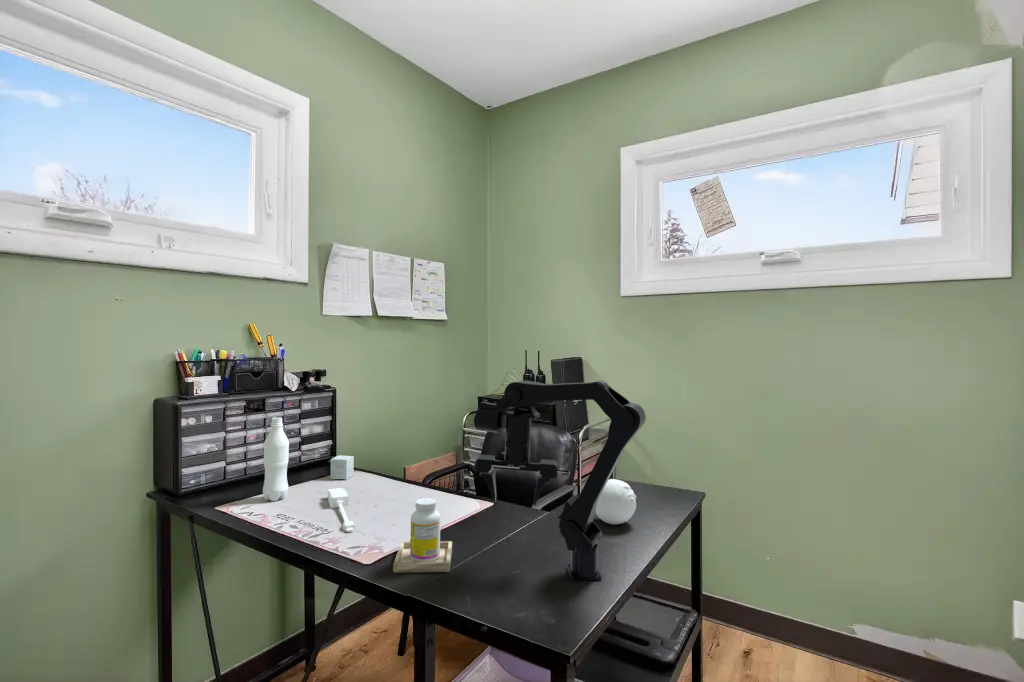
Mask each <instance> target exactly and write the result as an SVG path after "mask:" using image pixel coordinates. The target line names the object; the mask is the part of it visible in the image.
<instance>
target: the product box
mask: <svg viewBox="0 0 1024 682" xmlns="http://www.w3.org/2000/svg"><path fill="white" fill-rule="evenodd" d="M354 459H355V456H353V455H340V454H338V455H337V456H335V457H332V458H331V459H330V479H331V478H332V479H331V480H333V479H347V478H349V477H350V478H352V477H353V476H355V475H354V474H355V472H354V468H355V467H354V465H355V464H354V462H355V460H354ZM352 475H353V476H352ZM351 476H352V477H351ZM350 478H349V479H350ZM347 480H348V479H347Z"/></svg>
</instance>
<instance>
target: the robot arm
mask: <svg viewBox="0 0 1024 682" xmlns="http://www.w3.org/2000/svg"><path fill="white" fill-rule="evenodd" d="M587 400H589V401H592V400H593V401H594V402H595V403H596V404H597V405H598V407H599V408H600V409H601V410H602V412H603V413H604V414H605V415H606V416H607V417H608V418H609V419H610V424H609V427H608V432H607V439H606V442H605V444H604V446H603V448H602V450H601V452H600V454H599V456H598V457H597V460H596V462H595V463H594V466H593V467H592V470H591V472H590V473H589V475H588V477H587V479H586V482H585V483H584V486H583V488H582V489H581V492H580V494H579V495H578V496H577V495H575V494H573V495H572V496H570V498H568V500H566V502H565V503H564V506H563V508H562V512H561V514H559V515H558V516H557V519H559V521H558V529H559V532H560V534H561V536H562V538H564V540H565V541H564V542H565V544H566V548H567V550H568V551H570V564H566V570H567V572H568V574H569V577H570V579H571V581H600V580H602V579H603V577H602V574H601V572H600V571H599V568H598V550H599V549H598V544H597V543H598V542H599V541H600V540H601V537H602V535H603V530H601V528H600V527H599V526H598V524H597V523H596V522H595V521H594V519H595V516H596V515H595V514H596V513H595V512H596V506H597V501H598V499H599V497H600V495H601V493H602V491H603V489H604V487H605V485H606V483H607V481H608V480H610V477H611V475H612V473H613V472H614V470H615V468H616V465H617V464H618V462H619V460H620V457H621V456H622V455H623V453H624V450H625V448H626V446H628V445H629V443H630V442H631V441H632V440H633V438H634V437H636V434H637V433H638V432H639V431H640V430H641V428H642V427H643V426H644V424H645V423H646V419H647V418H646V416H647V415H646V412H645V410H644V408H643V407H642V406H641V405H639V404H637V403H635V402H630V401H629V400H628V399H627V398H626V397H625V396H623V395H622V394H621V393H619V392H618V391H616V390H615V389H613V387H611V386H610V385H609V384H608V382H606V381H604V380H598V381H590V382H588V381H587V382H571V383H570V382H567V383H550V384H549V383H544V382H539V381H532V380H520V381H518V380H517V381H513V382H510V383H508V384H507V386H506V387H505V389H504V393H503V395H502V397H501V398H500V399H499V401H498V402H497V403H491V402H489V401H480V402H479V405H478V408H477V409H476V411H475V416H474V417H473V424H474V428H475V430H477V431H483V432H490V433H497V434H501V433H502V432H503V431H504V430H505V437H504V438H505V439H502V440H501V446H500V453H501V454H502V455H504V460H503V459H502V460H501V459H496V456H495V455H493V454H492V455H491V454H490V455H489V454H480V455H479V456H477V457H476V459H475V461H474V472H475V473H479V477H484V480H485V482H486V484H487V486H488V489H489V491H490V494H491V497H492V501H493V502H494V503H496V501H497V484H496V483H497V481H496V472H497V471H496V470H497V469H498V470H513V471H523V472H524V471H525V472H537V473H538V476H537V480H536V486H535V489H534V490H535V491H534V497H533V506H536V504H537V502H538V499H539V497H540V494H541V492H542V490H543V488H544V486H545V485H546V482H551V481H552V479H556V478H558V462H557V461H556V459H545V458H544V459H543V458H540V461H539V463H538V462H530V461H531V450H532V449H531V430H532V420H535V419H537V418H540V417H541V413H539V412H538V410H537V409H536V408H535V407H534V406H531V407H528V408H527V409H526V408H525V409H524V408H522V407H525V406H529V405H534V404H538V403H543V402H560V401H561V402H562V401H565V402H567V401H587ZM514 408H515V410H514V411H510V410H511V409H514ZM508 410H509V411H508Z"/></svg>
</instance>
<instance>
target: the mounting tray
mask: <svg viewBox="0 0 1024 682" xmlns="http://www.w3.org/2000/svg"><path fill="white" fill-rule="evenodd" d="M452 550H453V541H451V540H444V541H443V540H440V555H439V557H438V558H437V559H436V560H435V561H432V562H415V561H413V560H412V559H411V557H410V541H401V542H400V545H399V548H398V549H397V553H396V555H395V559H394V561H393V563H392V572H393V573H442V572H443V573H444V572H446V573H447V572H449V573H450V570H451V562H452V561H451V560H452V554H453V551H452Z"/></svg>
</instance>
